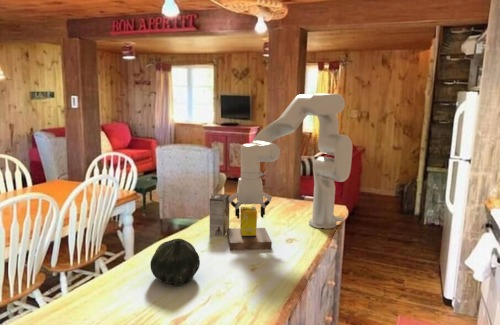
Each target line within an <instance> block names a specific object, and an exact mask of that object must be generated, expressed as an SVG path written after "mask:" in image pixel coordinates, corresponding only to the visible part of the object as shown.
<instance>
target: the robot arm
mask: <svg viewBox="0 0 500 325" xmlns="http://www.w3.org/2000/svg"><path fill="white" fill-rule="evenodd" d="M345 105H346V101H345V99H344V96H342V94H340V93H324V92H323V93H322V92H321V93H320V92H319V93H314V94H313V93H312V94H309V93H306V94H305V93H302V94H297V95H296V96H294V98H293V99H292V101H291V102H290V104H288V106H287V107H286V108H285V110H284V111H283V112H282V113H281V115H279V117H278V118H277V119H276V120H274V121H272V122H271V123H269V124H268V125H266V126H265V127H263V128H262V129H261V130H260V131H259V132H258V133H257V134H256V135H255V137H254V138H253V139H252V141H251V143H244V144H241V145H240V146H241V147H240V177H238V181H237V188H236V191H237V192H235V193H234V194H232V195H230V196H229V197H228V199H229V204H231V206H232V207H233V208H234V209H235V211H234V215H235V217H236V218H237V219H239V220H240V208H241V205H260V217H261V218H262V219H264V216H265V215H266V208H267V206H268V205H269V204H270V202H271V201H272V199H273V197H272V195H271V194H268V193H266V192H264V188H263V187H264V186H263V180H262V176H264V175H265V173H264V172H262V171H261V163H262V162H264V163H273V162H275V161H277V160H278V159H279V158H280V156H281V149H280V146H278V145H277V144H276V143H273V142H274V141H276V140H277V139H279V138H281V137H284V136H287V135H290V134H293V133H294V132H296V131H297V129H298V128H299V126H300V125H301V124H302V122H303V121H304V120H305V119H306V118H307V116H313V117H314V116H315V117H317V119H318V122H319V123H318V124H319V127H318V142H317V149H318V151H319V152H320V153H322V154H326V155H329V156H318V157H317V158H316V159H315V160H314V161H313V164H312V173H313V181H314V182H313V185H314V186H313V197H312V198H313V199H312V200H313V201H312V218H311V219H309V220H308V224H309V226H310V227H312V228H316V229H321V228H324V229H323V230H327V229H330V230H331V229H334V228H336V227H337V222H344V219H345V218H344V216H339V215H334V212H335V199H336V198H335V197H336V196H335V195H336V185H335V182H340V183H343V182H345V181H347V179H348V178H349V177H350V174H351V170H352V158H353V149H354V148H353V143H352V140H351V138H350V136H348V135H345V134H340V133H339V130H340V129H339V128H340V127H339V125H340V123H339V117H338V114H341V113H342V111H344V109H345ZM330 156H333V157H334V158H333V157H330ZM264 198H266V200H265V201H264ZM235 199H237V201H236V202H235V201H234V200H235Z"/></svg>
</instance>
